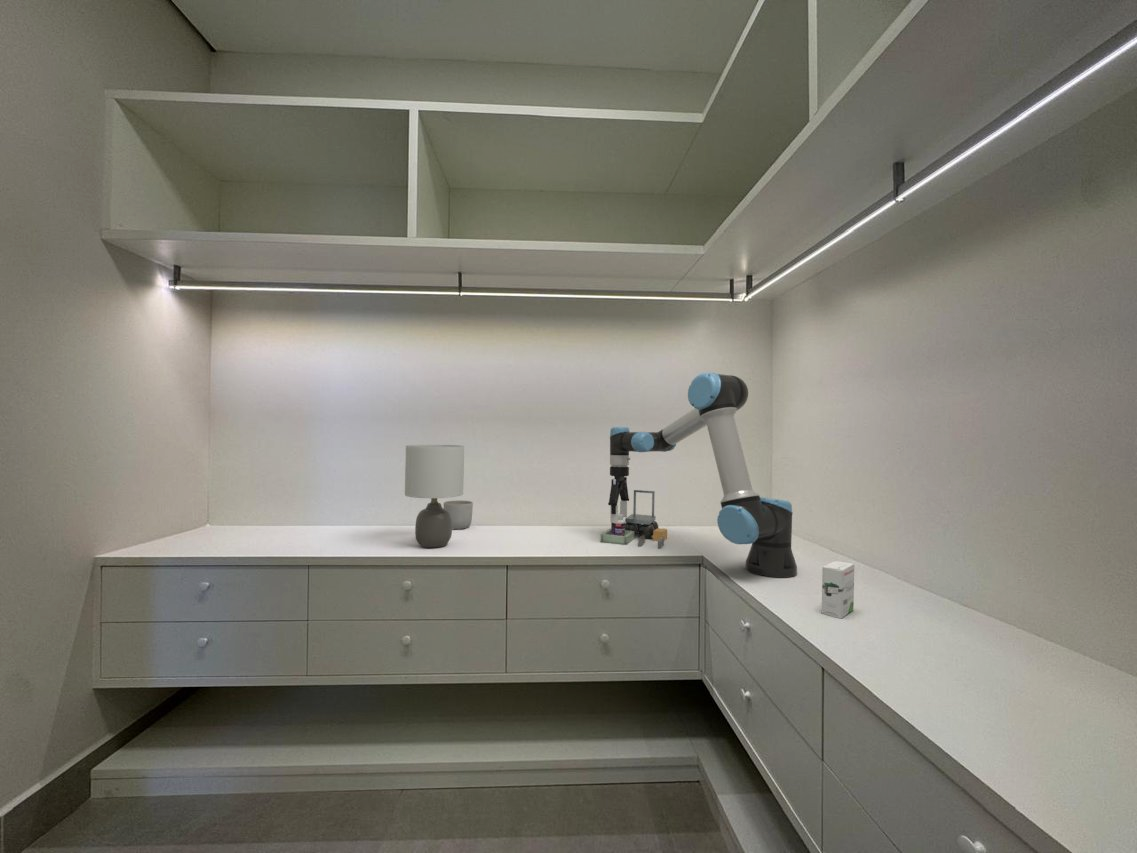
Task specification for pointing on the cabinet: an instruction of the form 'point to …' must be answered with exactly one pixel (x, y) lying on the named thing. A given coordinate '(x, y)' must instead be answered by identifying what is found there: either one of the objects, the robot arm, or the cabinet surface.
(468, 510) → the planter
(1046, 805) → the cabinet surface
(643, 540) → the pin bracket
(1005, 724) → the cabinet surface
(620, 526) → the pill bottle
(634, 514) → the trolley
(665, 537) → the block
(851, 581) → the ink box
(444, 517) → the lamp
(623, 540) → the tray
